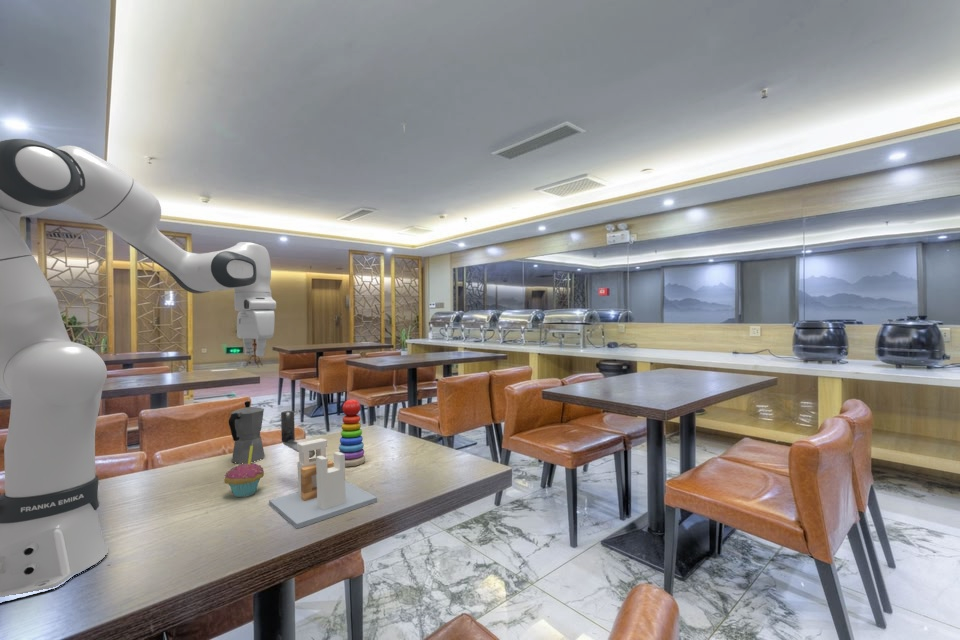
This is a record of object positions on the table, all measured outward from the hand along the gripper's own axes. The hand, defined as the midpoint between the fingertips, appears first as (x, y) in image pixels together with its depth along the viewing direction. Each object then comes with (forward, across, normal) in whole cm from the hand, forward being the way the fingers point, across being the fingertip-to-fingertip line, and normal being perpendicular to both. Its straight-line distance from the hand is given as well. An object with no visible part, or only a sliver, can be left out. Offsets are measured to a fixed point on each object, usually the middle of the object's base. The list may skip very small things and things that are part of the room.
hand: (254, 355), depth 115 cm
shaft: (+24, +13, +6) cm, 28 cm away
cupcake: (+33, +8, -5) cm, 35 cm away
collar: (+32, +25, +6) cm, 41 cm away
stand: (+33, +28, +6) cm, 44 cm away
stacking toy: (+33, +6, +24) cm, 42 cm away
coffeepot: (+33, -21, +3) cm, 39 cm away
